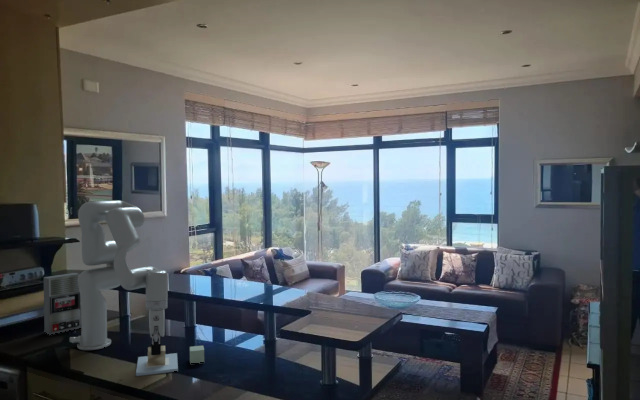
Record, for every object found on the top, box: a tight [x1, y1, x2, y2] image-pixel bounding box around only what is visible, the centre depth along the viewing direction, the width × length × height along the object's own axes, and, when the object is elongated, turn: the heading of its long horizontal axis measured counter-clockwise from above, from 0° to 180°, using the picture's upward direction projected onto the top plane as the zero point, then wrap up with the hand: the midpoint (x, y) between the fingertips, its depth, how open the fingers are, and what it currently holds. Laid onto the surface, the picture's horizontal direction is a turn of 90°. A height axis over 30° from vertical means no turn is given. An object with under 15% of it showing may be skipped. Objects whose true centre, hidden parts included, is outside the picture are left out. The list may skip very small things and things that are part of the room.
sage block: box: [189, 345, 205, 365], centre depth 179 cm, size 5×5×5 cm
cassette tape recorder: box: [43, 272, 81, 336], centre depth 214 cm, size 14×6×25 cm, turn 141°
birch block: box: [147, 345, 166, 366], centre depth 175 cm, size 6×6×5 cm
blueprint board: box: [135, 352, 179, 377], centre depth 175 cm, size 14×16×1 cm
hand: (156, 349), depth 175 cm, fingers open, 9 cm apart
